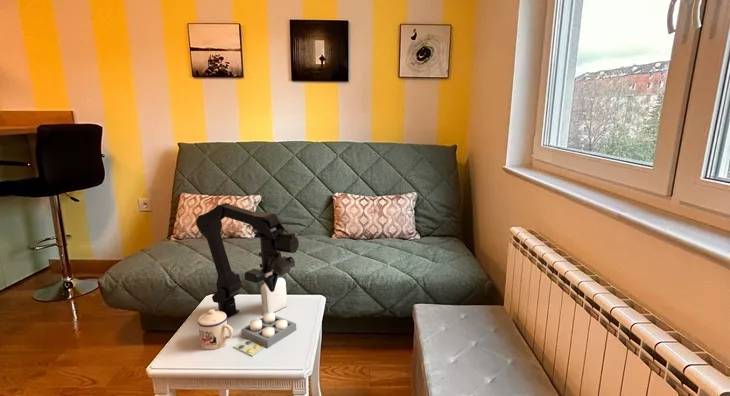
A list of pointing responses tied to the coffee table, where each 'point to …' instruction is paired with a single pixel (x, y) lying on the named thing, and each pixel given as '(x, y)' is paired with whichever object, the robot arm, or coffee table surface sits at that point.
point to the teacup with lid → (214, 329)
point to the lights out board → (257, 337)
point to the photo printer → (274, 297)
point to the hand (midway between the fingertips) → (272, 291)
